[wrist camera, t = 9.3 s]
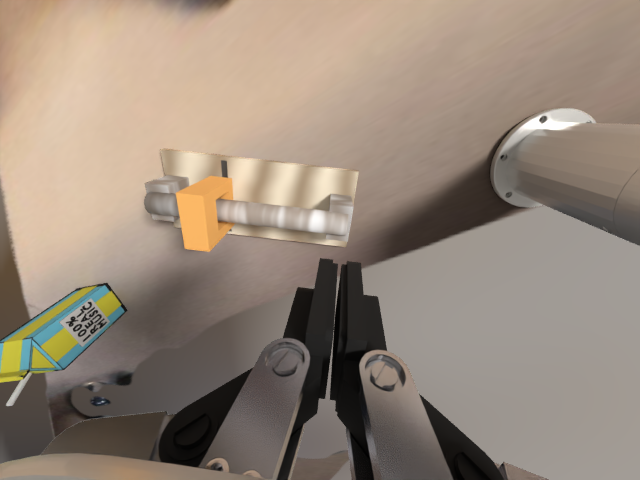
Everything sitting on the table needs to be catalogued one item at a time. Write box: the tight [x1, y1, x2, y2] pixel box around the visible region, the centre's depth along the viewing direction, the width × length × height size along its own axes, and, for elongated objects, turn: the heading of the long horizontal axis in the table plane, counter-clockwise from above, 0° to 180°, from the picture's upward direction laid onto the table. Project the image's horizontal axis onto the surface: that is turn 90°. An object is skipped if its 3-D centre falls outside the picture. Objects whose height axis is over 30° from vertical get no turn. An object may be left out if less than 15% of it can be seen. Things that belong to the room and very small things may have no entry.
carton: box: [0, 283, 127, 406], centre depth 42 cm, size 7×8×18 cm
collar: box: [176, 176, 235, 252], centre depth 32 cm, size 3×7×8 cm, turn 174°
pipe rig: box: [144, 149, 359, 247], centre depth 35 cm, size 28×12×8 cm, turn 84°
